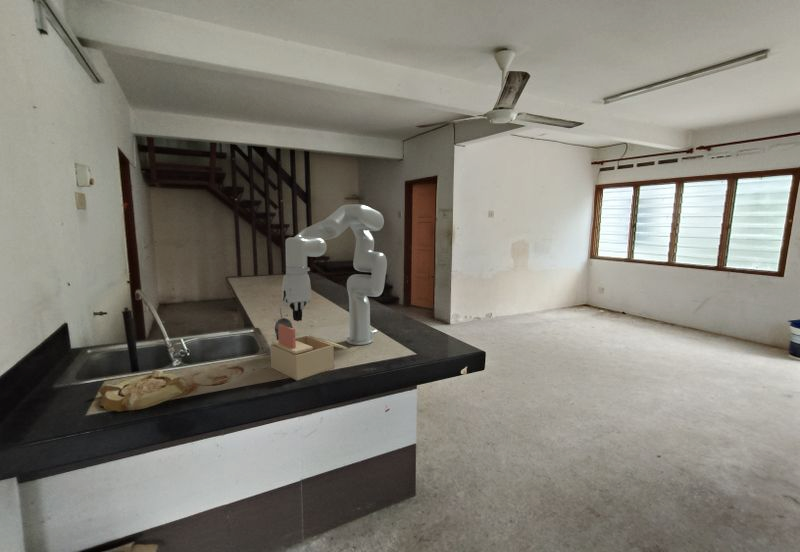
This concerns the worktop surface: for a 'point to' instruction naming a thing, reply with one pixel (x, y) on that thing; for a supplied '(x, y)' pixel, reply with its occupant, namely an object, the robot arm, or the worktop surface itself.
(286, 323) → the grey vase with twigs
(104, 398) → the tan brown flat piece
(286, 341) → the flap
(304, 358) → the carton
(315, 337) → the rear flap
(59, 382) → the worktop surface
